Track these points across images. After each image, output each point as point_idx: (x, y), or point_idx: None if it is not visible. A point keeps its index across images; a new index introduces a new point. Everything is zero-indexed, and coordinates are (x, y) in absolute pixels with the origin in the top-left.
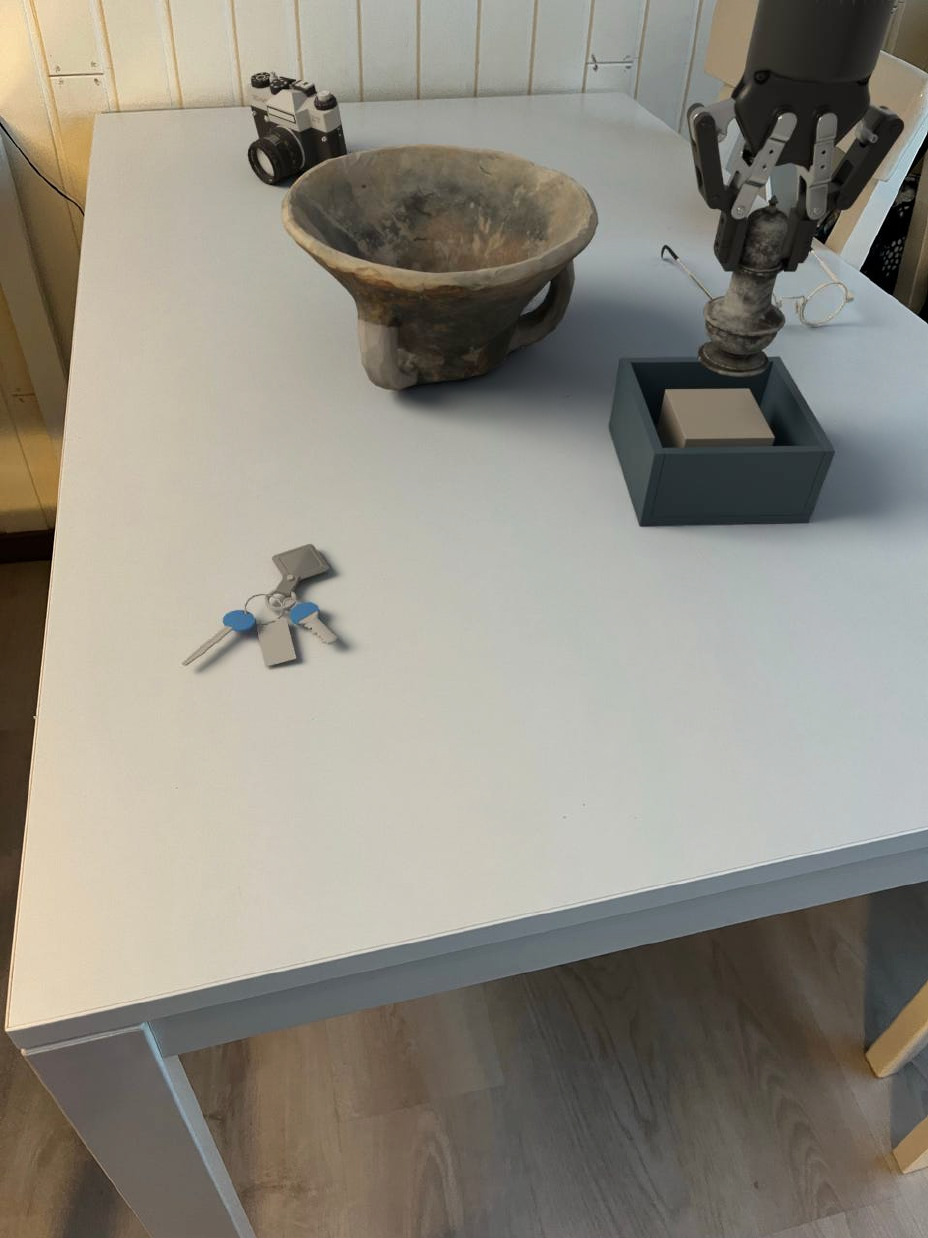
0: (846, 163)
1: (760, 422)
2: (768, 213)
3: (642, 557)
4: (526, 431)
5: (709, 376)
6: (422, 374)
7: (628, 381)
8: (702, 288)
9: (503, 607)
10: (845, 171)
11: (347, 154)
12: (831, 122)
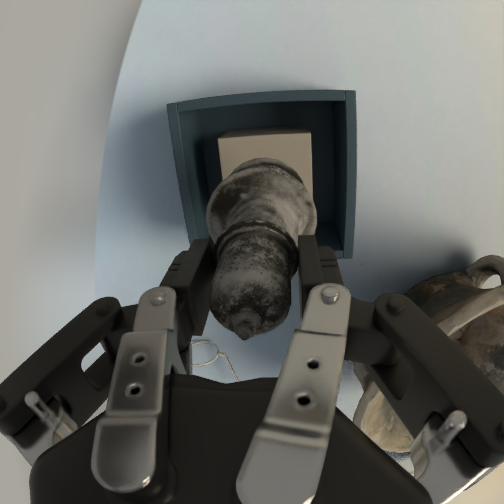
0: (99, 385)
1: (227, 163)
2: (255, 306)
3: (340, 54)
4: (404, 219)
5: None
6: (463, 274)
7: (354, 217)
8: (234, 373)
9: (441, 22)
10: (103, 373)
11: (409, 452)
12: (107, 460)
